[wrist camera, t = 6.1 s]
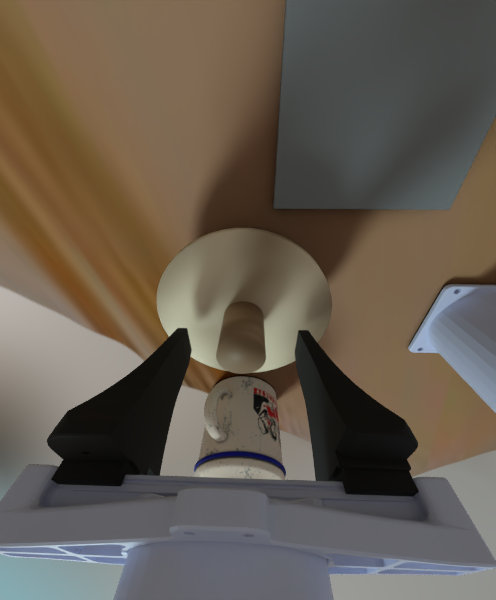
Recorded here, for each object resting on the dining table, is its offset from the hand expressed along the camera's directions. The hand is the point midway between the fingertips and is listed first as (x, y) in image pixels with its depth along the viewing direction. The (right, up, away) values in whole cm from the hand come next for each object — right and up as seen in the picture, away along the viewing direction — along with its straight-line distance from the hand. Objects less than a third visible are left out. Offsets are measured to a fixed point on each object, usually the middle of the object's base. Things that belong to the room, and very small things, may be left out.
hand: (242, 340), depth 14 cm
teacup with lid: (-1, -9, +14) cm, 16 cm away
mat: (+8, +14, -2) cm, 17 cm away
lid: (0, +2, +2) cm, 2 cm away
